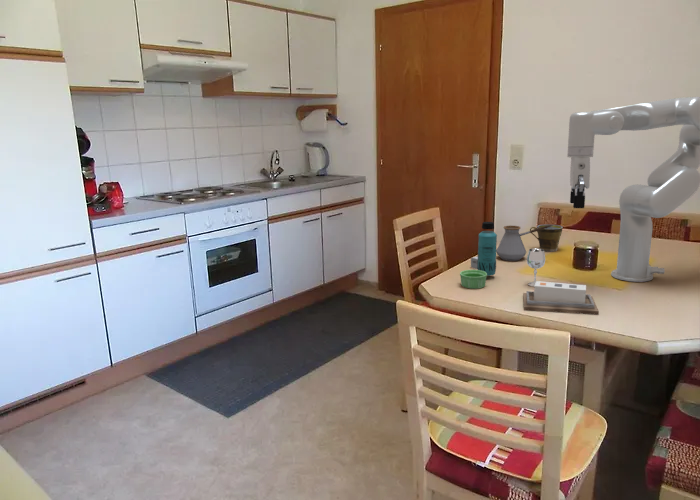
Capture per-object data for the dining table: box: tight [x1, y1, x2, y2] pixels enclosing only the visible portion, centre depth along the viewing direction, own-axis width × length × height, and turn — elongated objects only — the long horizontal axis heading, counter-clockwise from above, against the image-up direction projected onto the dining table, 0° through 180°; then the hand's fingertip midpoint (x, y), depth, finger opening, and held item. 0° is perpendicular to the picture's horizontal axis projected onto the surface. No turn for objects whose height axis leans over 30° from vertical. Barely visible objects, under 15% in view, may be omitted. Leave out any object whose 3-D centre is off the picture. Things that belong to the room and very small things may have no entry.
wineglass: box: [526, 247, 546, 287], centre depth 173 cm, size 6×6×12 cm
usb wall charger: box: [470, 256, 478, 270], centre depth 198 cm, size 4×7×4 cm, turn 119°
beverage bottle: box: [476, 221, 498, 277], centre depth 183 cm, size 6×7×20 cm
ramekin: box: [459, 269, 488, 290], centre depth 176 cm, size 9×9×4 cm
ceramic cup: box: [529, 223, 564, 253], centre depth 218 cm, size 13×10×10 cm
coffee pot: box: [496, 224, 553, 262], centre depth 204 cm, size 21×12×15 cm, turn 56°
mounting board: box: [522, 290, 600, 316], centre depth 155 cm, size 20×13×2 cm, turn 73°
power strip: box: [533, 280, 587, 304], centre depth 155 cm, size 14×5×5 cm, turn 65°
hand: (576, 205), depth 169 cm, fingers open, 9 cm apart
